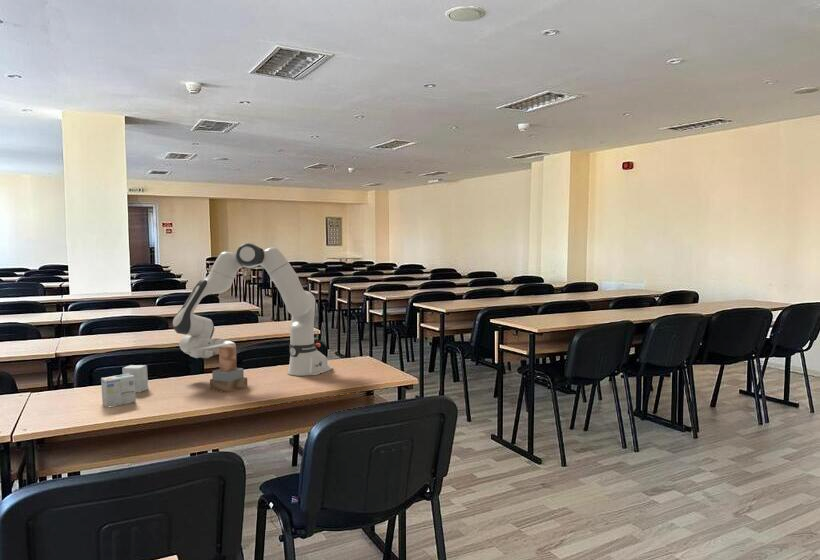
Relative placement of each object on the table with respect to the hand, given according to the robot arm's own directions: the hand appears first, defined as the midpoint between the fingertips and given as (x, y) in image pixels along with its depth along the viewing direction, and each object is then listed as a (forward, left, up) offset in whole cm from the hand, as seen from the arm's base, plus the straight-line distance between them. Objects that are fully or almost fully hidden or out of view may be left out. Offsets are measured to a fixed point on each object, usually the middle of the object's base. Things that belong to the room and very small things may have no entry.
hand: (223, 351), depth 239 cm
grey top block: (0, +3, -11) cm, 12 cm away
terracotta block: (0, +3, -7) cm, 8 cm away
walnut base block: (0, +3, -16) cm, 16 cm away
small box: (+26, -26, -16) cm, 40 cm away
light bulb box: (+39, -12, -16) cm, 44 cm away
